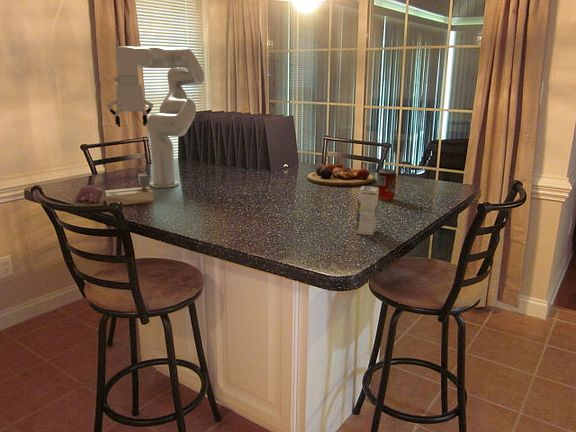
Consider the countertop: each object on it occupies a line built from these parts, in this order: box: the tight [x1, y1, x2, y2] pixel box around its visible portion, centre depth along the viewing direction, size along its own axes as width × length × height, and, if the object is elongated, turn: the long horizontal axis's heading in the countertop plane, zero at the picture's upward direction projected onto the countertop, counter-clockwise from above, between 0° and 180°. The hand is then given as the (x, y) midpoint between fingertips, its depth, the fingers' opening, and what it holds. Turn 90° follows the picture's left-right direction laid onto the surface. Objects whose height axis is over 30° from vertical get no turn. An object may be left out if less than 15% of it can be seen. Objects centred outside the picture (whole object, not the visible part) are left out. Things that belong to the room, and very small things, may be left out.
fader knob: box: [137, 173, 150, 189], centre depth 189 cm, size 5×3×6 cm, turn 25°
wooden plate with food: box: [306, 161, 375, 187], centre depth 231 cm, size 32×32×8 cm
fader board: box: [104, 186, 155, 205], centre depth 188 cm, size 9×17×4 cm, turn 115°
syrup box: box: [355, 185, 379, 236], centre depth 153 cm, size 6×6×14 cm
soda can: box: [377, 168, 398, 202], centre depth 194 cm, size 7×7×12 cm
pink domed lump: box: [75, 185, 104, 204], centre depth 189 cm, size 10×5×7 cm, turn 72°
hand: (131, 126), depth 188 cm, fingers open, 9 cm apart
